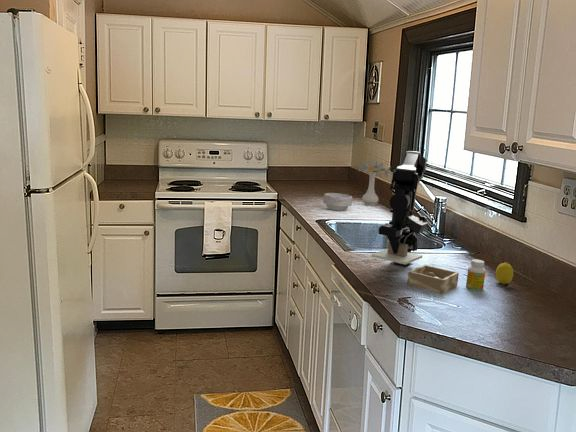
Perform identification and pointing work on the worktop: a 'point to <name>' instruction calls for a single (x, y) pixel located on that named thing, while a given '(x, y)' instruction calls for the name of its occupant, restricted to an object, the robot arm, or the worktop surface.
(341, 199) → the paper bowls
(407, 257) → the lid
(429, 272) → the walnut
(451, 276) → the box
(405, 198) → the robot arm
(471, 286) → the supplement bottle
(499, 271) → the lemon
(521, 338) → the worktop surface
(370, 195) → the flower vase
